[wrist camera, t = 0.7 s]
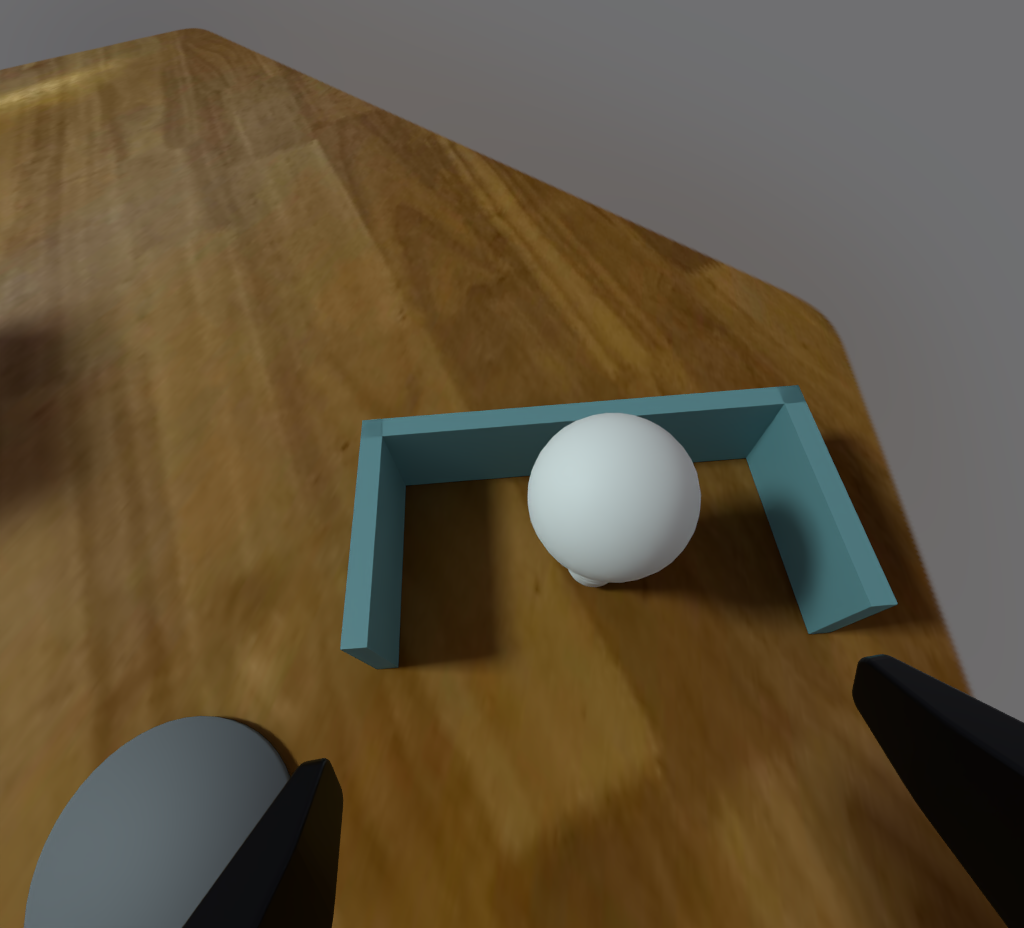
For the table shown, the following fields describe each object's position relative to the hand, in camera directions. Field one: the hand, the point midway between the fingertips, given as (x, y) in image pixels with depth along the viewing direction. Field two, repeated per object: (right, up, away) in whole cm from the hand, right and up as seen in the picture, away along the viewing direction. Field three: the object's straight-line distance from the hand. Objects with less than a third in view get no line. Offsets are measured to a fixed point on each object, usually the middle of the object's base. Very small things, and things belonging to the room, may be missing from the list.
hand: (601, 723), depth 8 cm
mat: (-15, -11, +12) cm, 22 cm away
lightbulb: (+3, -1, +17) cm, 17 cm away
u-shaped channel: (+2, 0, +17) cm, 18 cm away
